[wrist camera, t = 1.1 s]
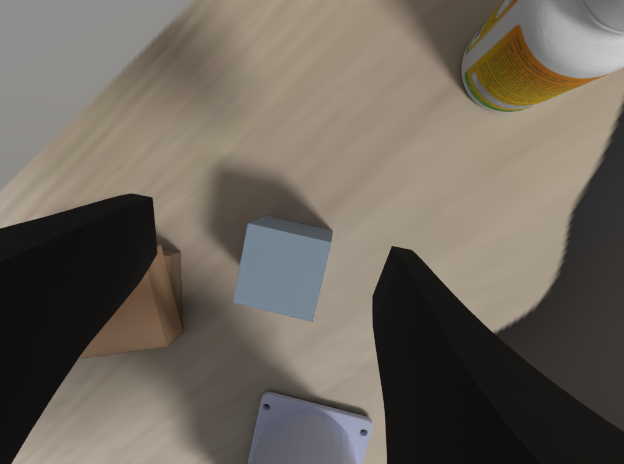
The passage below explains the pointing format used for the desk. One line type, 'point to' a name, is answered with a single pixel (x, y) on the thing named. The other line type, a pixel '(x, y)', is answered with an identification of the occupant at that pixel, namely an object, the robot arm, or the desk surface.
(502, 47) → the supplement bottle
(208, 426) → the desk surface
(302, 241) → the cube
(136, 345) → the tower mid
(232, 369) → the desk surface
